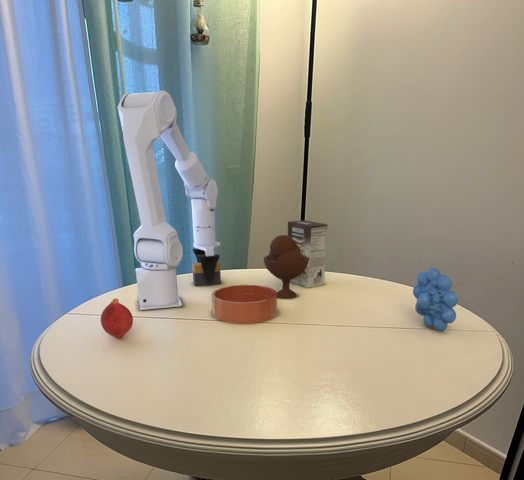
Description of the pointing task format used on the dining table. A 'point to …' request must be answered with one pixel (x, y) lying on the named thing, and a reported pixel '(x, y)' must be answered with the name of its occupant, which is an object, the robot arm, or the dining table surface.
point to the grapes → (435, 299)
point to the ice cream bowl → (285, 263)
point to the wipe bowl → (244, 303)
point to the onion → (116, 319)
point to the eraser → (199, 276)
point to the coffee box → (310, 250)
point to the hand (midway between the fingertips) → (206, 277)
